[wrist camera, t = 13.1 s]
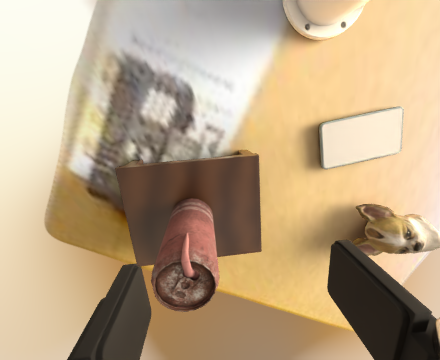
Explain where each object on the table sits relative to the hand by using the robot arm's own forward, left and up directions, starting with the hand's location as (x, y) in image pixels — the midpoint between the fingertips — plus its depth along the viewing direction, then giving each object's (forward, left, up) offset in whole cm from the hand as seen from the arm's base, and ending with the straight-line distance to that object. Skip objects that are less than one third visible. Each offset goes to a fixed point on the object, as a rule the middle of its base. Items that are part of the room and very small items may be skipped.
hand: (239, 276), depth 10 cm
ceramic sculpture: (-32, +16, -28) cm, 46 cm away
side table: (+4, +6, -28) cm, 28 cm away
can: (+4, +6, -21) cm, 22 cm away
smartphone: (-26, -2, -28) cm, 38 cm away
